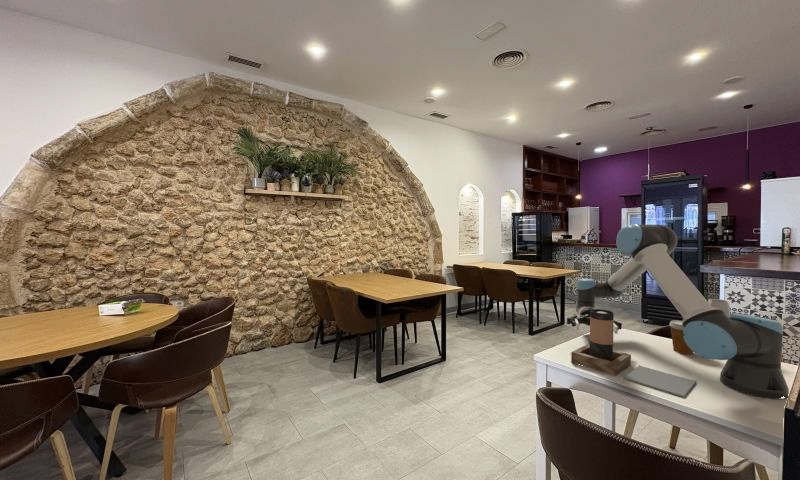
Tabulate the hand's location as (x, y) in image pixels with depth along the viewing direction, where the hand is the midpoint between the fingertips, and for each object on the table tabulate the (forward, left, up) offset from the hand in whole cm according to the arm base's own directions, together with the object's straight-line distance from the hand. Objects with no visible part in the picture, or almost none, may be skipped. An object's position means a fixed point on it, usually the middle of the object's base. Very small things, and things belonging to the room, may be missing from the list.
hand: (596, 328), depth 134 cm
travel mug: (-5, +8, -11) cm, 14 cm away
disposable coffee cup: (-21, -33, -11) cm, 41 cm away
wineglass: (-29, -48, -11) cm, 57 cm away
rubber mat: (-23, +8, -11) cm, 26 cm away
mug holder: (-5, +8, -11) cm, 14 cm away
